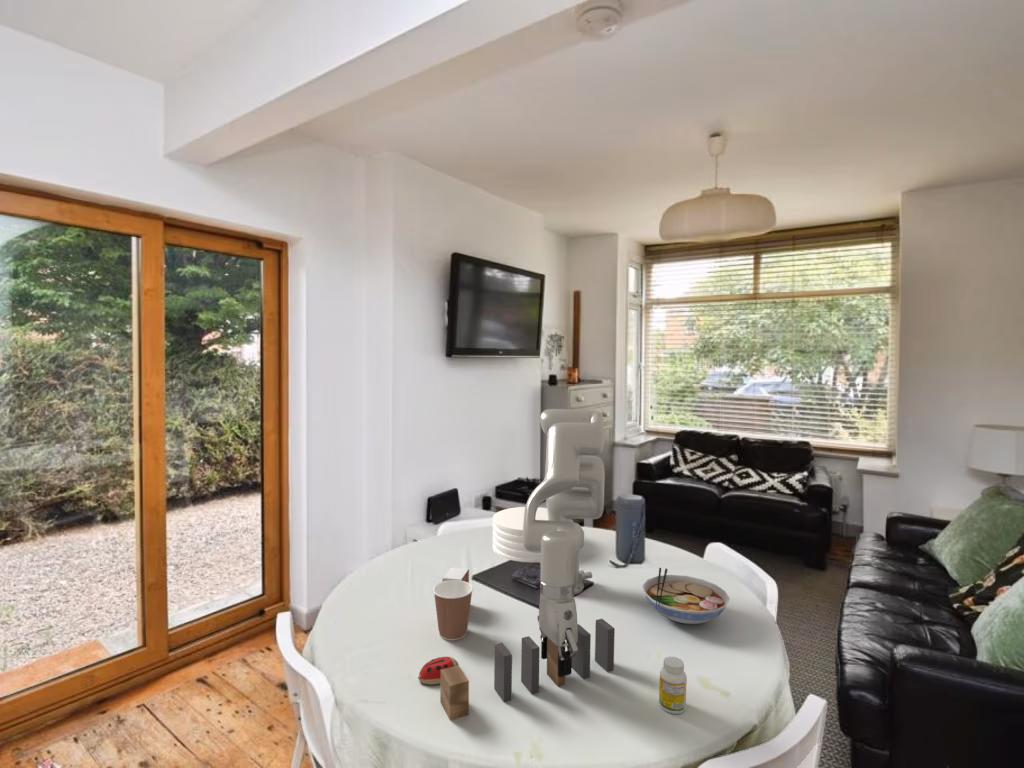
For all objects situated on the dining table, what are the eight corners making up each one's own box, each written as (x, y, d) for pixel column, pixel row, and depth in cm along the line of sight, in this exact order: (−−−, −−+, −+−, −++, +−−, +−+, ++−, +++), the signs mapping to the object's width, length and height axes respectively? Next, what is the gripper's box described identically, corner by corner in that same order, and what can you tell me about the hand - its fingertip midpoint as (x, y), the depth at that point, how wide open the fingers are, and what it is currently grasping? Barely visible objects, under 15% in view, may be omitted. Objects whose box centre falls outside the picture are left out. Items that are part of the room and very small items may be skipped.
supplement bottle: (679, 718, 110) (680, 672, 109) (654, 707, 113) (655, 662, 113) (689, 705, 114) (691, 661, 113) (665, 694, 117) (666, 651, 117)
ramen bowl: (729, 649, 135) (731, 617, 135) (636, 631, 143) (636, 601, 143) (727, 605, 159) (728, 577, 158) (646, 592, 167) (647, 565, 166)
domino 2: (528, 679, 122) (528, 636, 122) (538, 692, 118) (539, 647, 117) (521, 681, 121) (521, 637, 121) (531, 694, 117) (532, 649, 116)
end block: (458, 697, 116) (458, 665, 115) (468, 714, 110) (468, 681, 110) (440, 702, 114) (440, 669, 114) (449, 719, 109) (449, 686, 108)
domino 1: (501, 686, 119) (502, 642, 119) (511, 700, 115) (512, 654, 114) (494, 688, 119) (494, 644, 118) (503, 702, 114) (504, 656, 113)
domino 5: (601, 659, 130) (602, 618, 130) (613, 670, 126) (614, 628, 125) (594, 660, 130) (595, 620, 129) (607, 672, 125) (608, 630, 125)
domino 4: (577, 665, 128) (578, 624, 127) (589, 677, 123) (590, 634, 123) (571, 667, 127) (572, 625, 126) (583, 679, 122) (583, 636, 122)
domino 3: (553, 672, 125) (554, 630, 124) (564, 684, 120) (565, 640, 120) (546, 674, 124) (547, 631, 123) (557, 686, 120) (558, 642, 119)
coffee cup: (479, 627, 145) (479, 583, 144) (463, 647, 135) (463, 600, 134) (443, 620, 148) (444, 577, 147) (425, 639, 138) (425, 593, 137)
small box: (461, 617, 150) (461, 579, 149) (441, 615, 151) (441, 578, 150) (469, 604, 158) (469, 568, 157) (450, 602, 159) (450, 566, 158)
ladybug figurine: (465, 677, 123) (465, 661, 123) (425, 692, 118) (425, 676, 117) (451, 662, 129) (451, 648, 128) (412, 676, 123) (412, 661, 123)
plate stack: (490, 536, 215) (490, 507, 214) (560, 534, 218) (560, 506, 217) (495, 564, 187) (495, 531, 187) (575, 561, 190) (576, 529, 190)
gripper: (593, 601, 115) (591, 683, 116) (552, 570, 130) (551, 643, 132) (562, 608, 111) (561, 692, 113) (524, 576, 127) (523, 650, 128)
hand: (555, 665), depth 122 cm, fingers open, 6 cm apart
